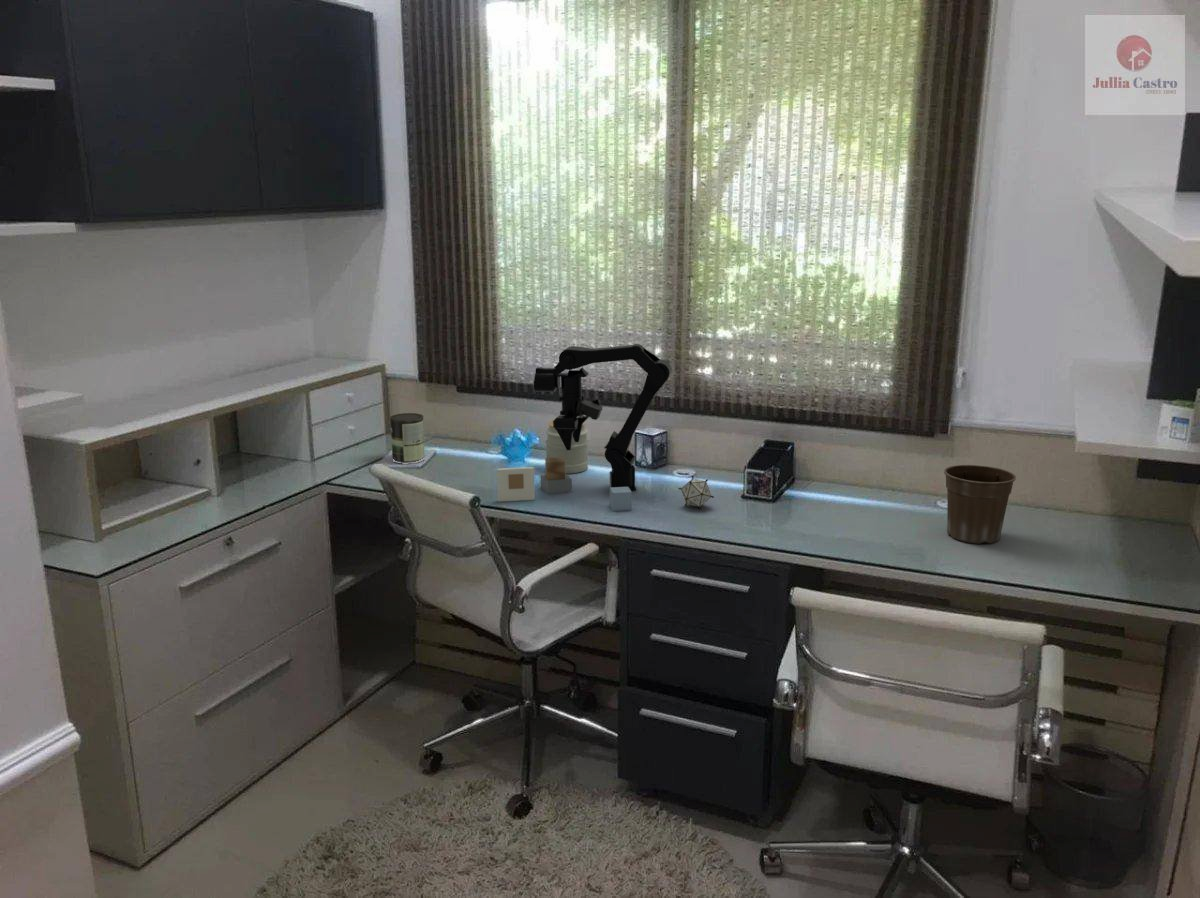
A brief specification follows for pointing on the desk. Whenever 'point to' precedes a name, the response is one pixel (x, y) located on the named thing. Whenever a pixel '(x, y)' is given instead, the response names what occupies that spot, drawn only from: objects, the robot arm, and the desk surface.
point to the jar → (573, 458)
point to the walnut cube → (555, 468)
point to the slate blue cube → (620, 498)
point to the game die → (696, 492)
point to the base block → (556, 485)
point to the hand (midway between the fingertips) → (572, 445)
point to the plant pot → (977, 502)
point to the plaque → (515, 484)
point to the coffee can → (407, 437)
